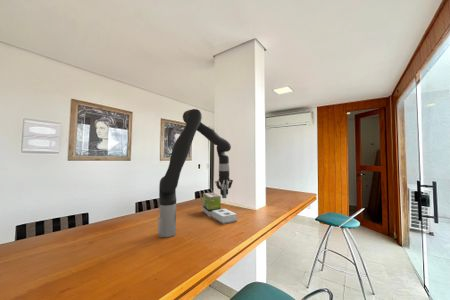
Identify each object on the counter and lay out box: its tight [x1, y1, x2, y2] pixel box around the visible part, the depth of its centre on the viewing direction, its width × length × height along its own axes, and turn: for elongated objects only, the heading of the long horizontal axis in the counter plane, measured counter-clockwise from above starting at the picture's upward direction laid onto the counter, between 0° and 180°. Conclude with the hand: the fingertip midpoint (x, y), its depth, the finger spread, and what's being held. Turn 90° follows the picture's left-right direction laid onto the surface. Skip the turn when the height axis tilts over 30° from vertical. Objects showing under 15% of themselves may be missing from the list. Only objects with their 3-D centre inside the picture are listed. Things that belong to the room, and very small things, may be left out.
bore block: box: [211, 208, 238, 225], centre depth 132 cm, size 11×16×5 cm
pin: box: [221, 185, 227, 199], centre depth 130 cm, size 3×3×9 cm
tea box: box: [202, 192, 222, 217], centre depth 147 cm, size 15×10×15 cm
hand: (224, 194), depth 130 cm, fingers closed on pin, 3 cm apart
